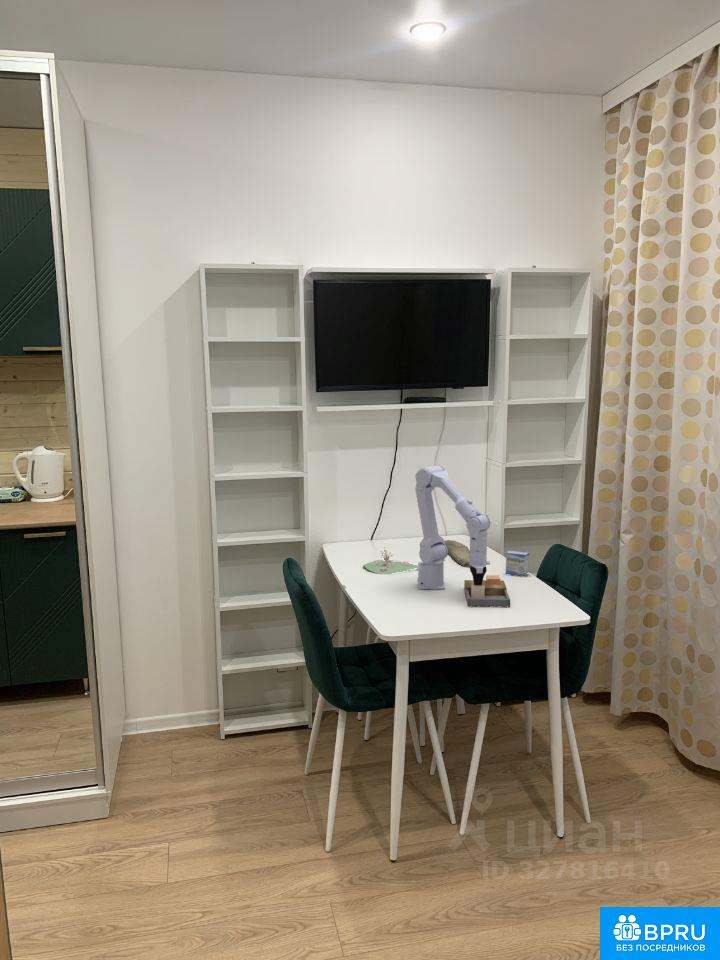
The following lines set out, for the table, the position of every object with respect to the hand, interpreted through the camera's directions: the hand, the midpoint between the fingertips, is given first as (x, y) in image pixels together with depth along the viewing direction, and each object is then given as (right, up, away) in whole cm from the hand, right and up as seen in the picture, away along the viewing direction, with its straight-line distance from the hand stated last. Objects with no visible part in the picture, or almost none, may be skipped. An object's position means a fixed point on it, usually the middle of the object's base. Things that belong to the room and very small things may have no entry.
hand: (477, 587), depth 258 cm
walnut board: (+3, -3, +6) cm, 7 cm away
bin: (+3, -4, -4) cm, 6 cm away
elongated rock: (+1, +5, +54) cm, 54 cm away
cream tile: (0, -1, -1) cm, 2 cm away
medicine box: (+19, +1, +27) cm, 33 cm away
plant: (-27, +2, +40) cm, 48 cm away
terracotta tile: (+7, +1, +7) cm, 10 cm away
